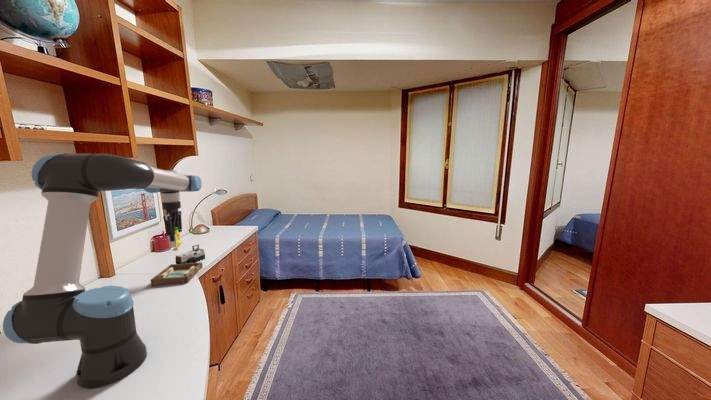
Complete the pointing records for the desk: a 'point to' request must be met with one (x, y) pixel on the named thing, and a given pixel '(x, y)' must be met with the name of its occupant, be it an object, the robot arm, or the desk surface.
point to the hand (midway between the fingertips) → (176, 245)
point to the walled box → (176, 274)
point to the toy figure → (177, 238)
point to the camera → (191, 256)
